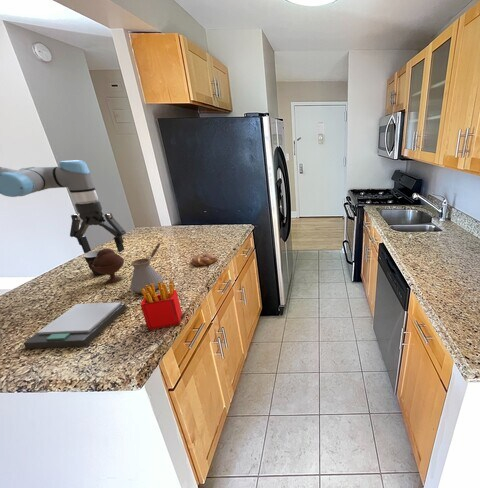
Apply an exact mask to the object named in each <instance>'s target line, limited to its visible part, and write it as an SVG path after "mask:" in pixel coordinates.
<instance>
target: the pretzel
mask: <svg viewBox="0 0 480 488" xmlns="http://www.w3.org/2000/svg"><path fill="white" fill-rule="evenodd" d="M217 260H218V258H217V257H216V256H215V255H214V254H212V253H211V254H210V253H199V254H196V255H194V256H192V258H191V264H193V266H195V267H202V266H209V265H211V264H214V263H216V262H217Z"/></svg>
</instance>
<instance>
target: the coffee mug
mask: <svg viewBox="0 0 480 488" xmlns="http://www.w3.org/2000/svg"><path fill="white" fill-rule="evenodd" d="M100 250H101V249H97V250H91V251H90V252H88V253H84V255H83V258H84V259H85V262H86V263H87V266H88V268H89V270H91V272H92V274H93V275H94V277H95V276H96V277H100V276H105V275H106V274H101V273H98V272H96V271H95V270H94V269H93V268H92V266H91V265H92V264H93V262H94V260H95V259H96V258H97V253H98V252H99V251H100Z"/></svg>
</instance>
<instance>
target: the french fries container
mask: <svg viewBox="0 0 480 488" xmlns="http://www.w3.org/2000/svg"><path fill="white" fill-rule="evenodd" d="M150 286H151V287H149V286H148V285H146V286H145V288H146V291H145V289H141V292H142V293H143V294H142V296H143V299H142V301H141V303H140V309H141V311H142V314H143V319H144V321H145V324H146V327H147V330H148V331H154V330H158V329H162V328H168V327H172V326H177V325H178V326H179V325H180V324H181V321H182V316H183V313H182V308H181V307H182V306H181V303H180V298H179V295H178V291H177V289H175V285H174V280H170V281H169V284H168V287H169V288H168V287H167V284H166V283H162V284H161V282H158V287H159V288H158V291H159V294H156V290H155V288H154V284H150ZM168 291H169V292H168Z"/></svg>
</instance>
